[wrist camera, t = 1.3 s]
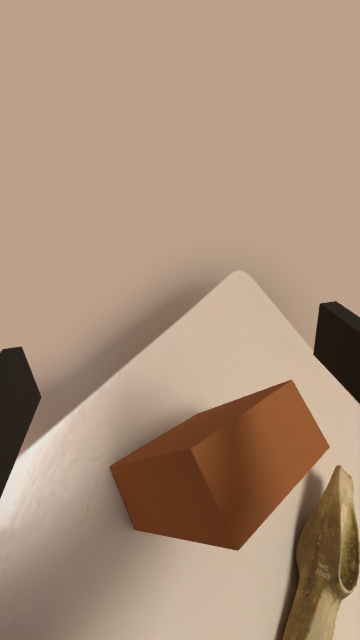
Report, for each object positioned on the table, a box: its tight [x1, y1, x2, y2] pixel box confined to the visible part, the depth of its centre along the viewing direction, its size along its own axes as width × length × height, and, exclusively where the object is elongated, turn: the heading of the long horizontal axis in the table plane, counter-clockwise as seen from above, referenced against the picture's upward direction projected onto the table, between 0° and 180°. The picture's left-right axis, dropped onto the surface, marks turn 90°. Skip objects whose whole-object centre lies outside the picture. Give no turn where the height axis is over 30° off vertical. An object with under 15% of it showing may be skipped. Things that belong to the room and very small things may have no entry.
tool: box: [283, 465, 360, 640], centre depth 26 cm, size 22×6×5 cm, turn 147°
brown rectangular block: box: [110, 380, 329, 550], centre depth 22 cm, size 5×10×12 cm, turn 121°
